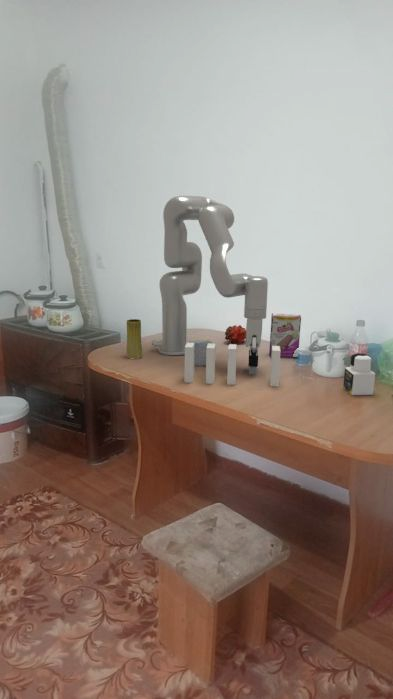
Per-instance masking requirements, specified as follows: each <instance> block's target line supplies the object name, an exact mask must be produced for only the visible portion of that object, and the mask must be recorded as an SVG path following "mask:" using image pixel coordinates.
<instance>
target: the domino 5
mask: <svg viewBox="0 0 393 699" xmlns="http://www.w3.org/2000/svg"><path fill="white" fill-rule="evenodd" d="M280 352H281V351H280V346H272V353H271V357H270V376H269V384H270V387H271V388H272V387H276V388H278V387H279V386H280V384H279V382H280V369H281V367H280V366H281V357H280Z"/></svg>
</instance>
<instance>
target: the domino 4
mask: <svg viewBox="0 0 393 699" xmlns="http://www.w3.org/2000/svg"><path fill="white" fill-rule="evenodd" d="M252 340H253V336H252ZM251 346H252V344H251ZM256 346H257V345H256ZM251 350H252V348H251ZM257 369H258V367H249V366H248V371H249V372H248V374H249V375H257V373H258V372H257Z"/></svg>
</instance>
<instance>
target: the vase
mask: <svg viewBox="0 0 393 699" xmlns="http://www.w3.org/2000/svg"><path fill="white" fill-rule="evenodd" d="M142 346H143V344H142V321H141V319H137V318H131V319H127V320H126V355H125V356H127V357H128V358H127V357H126V358H127V359H129V358H139V359H142V358H143V347H142ZM141 357H142V358H141Z"/></svg>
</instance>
